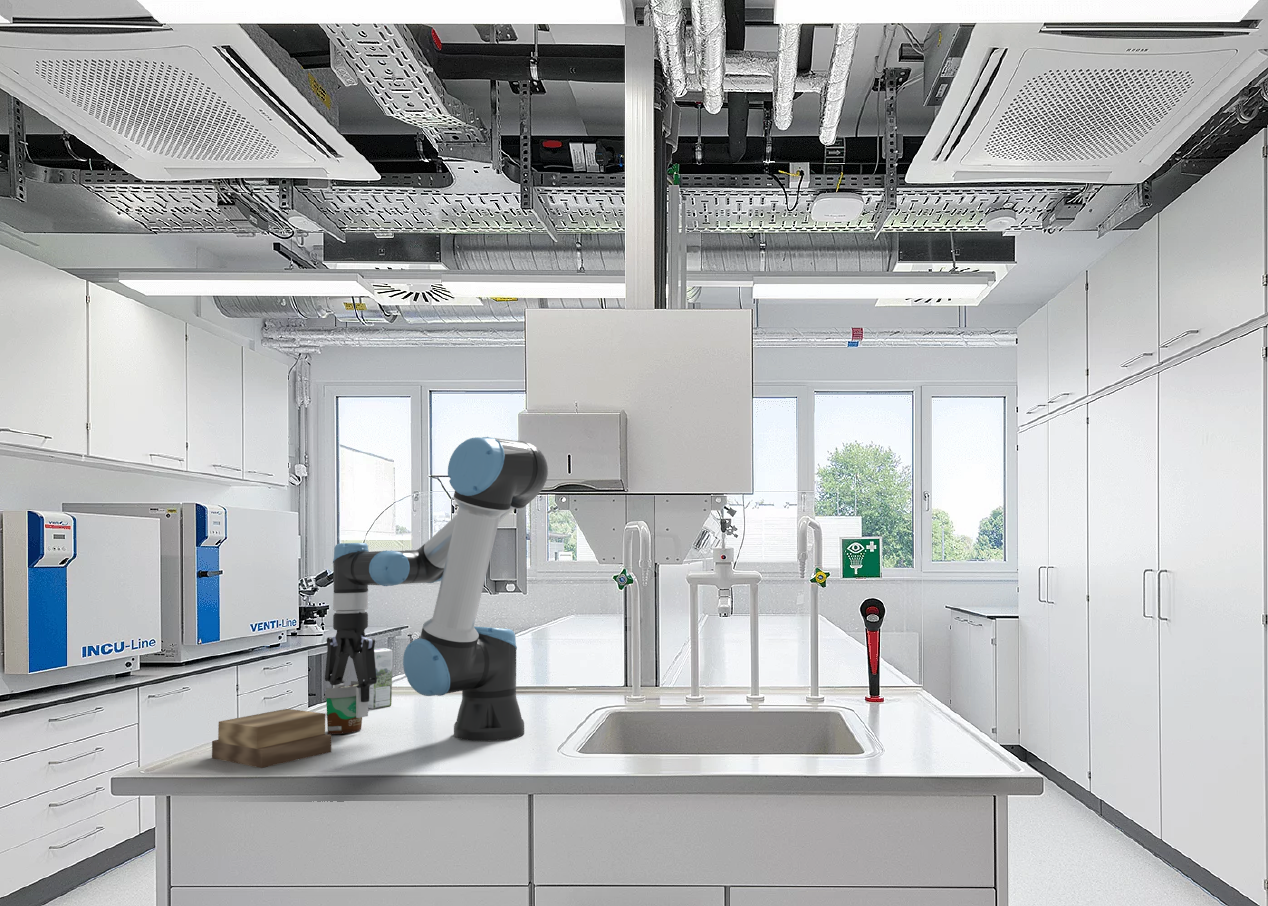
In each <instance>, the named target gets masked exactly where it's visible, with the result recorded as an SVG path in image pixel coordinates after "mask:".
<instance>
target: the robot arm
mask: <svg viewBox="0 0 1268 906" xmlns="http://www.w3.org/2000/svg"><path fill="white" fill-rule="evenodd" d="M548 475H549V468H548V462H547V460H546V457H545V455H544V453H543V452H542V451H541V450H540V449H539V448H538V447H537V446H536V445H534V444H533V443H530V442H528V441H523V440H513V439H511V440H510V439H506V438H497V437H489V436H483V437H482V436H481V437H471V438H468V439H466V440H464V441H463V442H461V443H460V444H458V446H457V447H455V449H454V450H453V452H452V454H451V456H450V458H449V461H448V465H447V477H448V478H449V484H450V486H451V488H452V490H454V493H453V499H454V501H455V502H456V504H457V507H458V509H457V513H456V515H455V516H454V517H453V518H452V519H450V520H449V521H448V522H447V523H446V524H445V525H443V527H442V528H441V529H439V530H438V531H437V532H436V533H435V534H434V535H432V536H431V538H430V539H428V540H427V541H426V542H425V543H424V544H423V545H422V546H420V547H419V548H417V549H413V550H412V549H410V550H406V549H405V550H392V549H391V550H377V551H375V550H374V551H373V550H372V551H370V550H369V546H368V545H369V544H367V543H366V542H348V543H347V542H346V543H345V542H343V543H337V544H336V545H334V549H333V550H334V551H333V560H332V564H333V566H332V567H333V571H332V573H333V576H332V577H333V593H332V596H333V597H332V598H333V599H332V600H333V601H332V611H334V612H335V613H334V614H332V621H333V622H332V629H333V630H335V631H336V633H335V636H329V637H327V638H326V646H327V650H326V661H325V662H326V663H325V672H324V681H325V682H329V684H330V685H331V688H338V687H346V686H345V685H346V684H345V683H346V682H345V681H344V680H343V679H344V676H345V671H346V668H347V664H348V662H349V661H348V660H349V658H351V660H352V663H353V666H354V670H355V675H356V679H357V681H358V684H359V685H358V686H356V687H357V688H356V718H361V717H362V718H366V717H368V716H369V708H368V701H369V687H370V686H371V685H372V684H376V682H377V679H376V667H375V655H374V649H375V644H376V640H375V638H368V637H367V636H366V633H365V630H366V629H367V628H368V627H369V613H368V612H367V611H366V610H368V609H369V607H368V605H369V601H368V600H369V599H368V598H369V595H368V594H369V587H368V586H383V587H389V586H390V587H391V586H398V585H407V584H408V585H409V584H432V583H433V584H434V583H436V582H437V583H438V582H440V585H439V588H438V589H439V590H438V593H437V597H436V601H435V607H434V610H433V613H432V617H431V618H430V619H428V620H426V621H425V622H423V625H422V628H421V632H420V637H419V638H415V639H413V640H412V641H411V643H408V644H407V646H406V648H405V650H404V653H403V657H402V665H403V667H402V668H403V670H404V671H403V672H404V674H405V675H404V676H405V677H406V679H407V683H409V685H410V686H411V688H412V689H413V690H414V691H415V692H416V693H418V694H420V695H422V696H424V697H432V696H433V697H434V696H437V697H438V696H439V697H440V696H445V695H446V694H451V693H457V692H462V693H461V702H460V706H459V709H458V712H457V718H456V720H455V722H454V725H453V737H454V738H456V739H457V740H458V739H459V740H461V741H462V740H463V741H471V742H472V741H473V742H491V741H492V742H493V741H502V740H511V739H514V738H518V737H521V736H523V735H525V721H524V719H523V717H522V714H521V709H520V706H519V702H518V699H517V648H518V647H517V641H516V633H515V632H514V630H513V629H510V628H501V627H488V626H487V627H486V626H485V627H484V626H475V622H476V618H477V614H478V610H479V606H480V602H481V598H482V594H483V589H484V584H485V581H486V578H487V572H488V568H489V564H490V560H491V557H492V552H493V547H494V543H495V539H496V536H497V531H498V527H499V524H500V522H501V521H503V520H504V519H505V518H506V517H507V516H508V515H510V514H511V512H513V511H514V510H521V509H524V508H525V507H526V506H527V505H528V504H530V502H532V501H533V500H534V499H536V497H537V496H538V495H539V494H540V492H541V491H542V490H543V489H544V487H545V485H546V483H547V480H548ZM370 678H371V679H370ZM363 680H364V681H363Z"/></svg>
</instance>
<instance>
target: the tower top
mask: <svg viewBox="0 0 1268 906" xmlns="http://www.w3.org/2000/svg"><path fill="white" fill-rule="evenodd" d="M217 727H218V731H217V733H218V734H217V735H218V736H217V740H218V742H219V743H225V744H231V745H237V746H243V747H249V748H255V749H258V748H263V747H267V746H272V745H276V744H281V743H285V742H290V741H294V740H299V739H303V738H308V737H313V736H317V735H322V734H326V713H324V712H316V711H315V712H314V711H308V710H301V709H300V710H299V709H290V708H284V709H280V710H272V711H268V712H263V713H257V714H252V715H247V716H241V717H236V718H235V717H234V718H230V719H225V720H221V721H220V720H219V721H218V726H217Z"/></svg>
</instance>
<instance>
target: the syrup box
mask: <svg viewBox="0 0 1268 906" xmlns="http://www.w3.org/2000/svg"><path fill="white" fill-rule="evenodd" d="M393 654H394V653H393V649H390V648H386V647H378V648H374V655H375V667H376V679H377V682H376V684H372V685H371V686H370V687H369V701H368V709H371V710H372V709H374V710H375V709H381V708H387V707H392V701H393V700H392V698H393V697H392V695H393V691H392V690H393ZM370 679H371V678H370ZM363 681H364V680H363Z"/></svg>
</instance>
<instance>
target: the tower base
mask: <svg viewBox="0 0 1268 906" xmlns="http://www.w3.org/2000/svg"><path fill="white" fill-rule="evenodd" d="M328 753H332V734H328V733H325V734H322V735H317V736H313V737H308V738H303V739H299V740H294V741H290V742H285V743H281V744H276V745H272V746H267V747H263V748H258V749H255V748H249V747H243V746H237V745H231V744H225V743H219V742H218V739H215V740H212V742H211V759H214V760H219V761H223V762H224V761H225V762H229V763H234V764H239V765H244V766H250V767H255V768H258V769H259V768H260V769H263V768H268V767H273V766H276V765H281V764H285V763H289V762H294V761H299V760H301V759H307V758H312V757H315V756H316V757H317V756H320V755H324V754H328ZM298 759H299V760H298Z"/></svg>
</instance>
